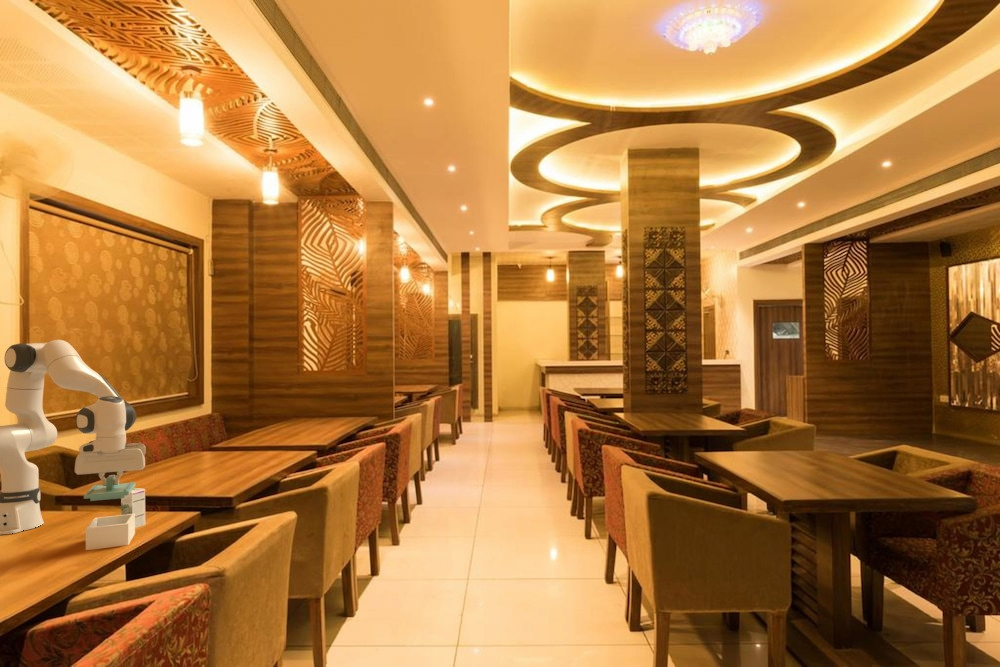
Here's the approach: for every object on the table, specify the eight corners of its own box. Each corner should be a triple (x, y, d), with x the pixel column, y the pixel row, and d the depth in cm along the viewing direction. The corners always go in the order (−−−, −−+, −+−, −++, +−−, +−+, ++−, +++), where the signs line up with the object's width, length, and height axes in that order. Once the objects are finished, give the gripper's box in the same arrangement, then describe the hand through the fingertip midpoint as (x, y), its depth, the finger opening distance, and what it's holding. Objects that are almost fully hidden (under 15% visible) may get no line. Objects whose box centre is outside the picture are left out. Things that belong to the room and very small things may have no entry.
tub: (85, 553, 199) (85, 528, 200) (95, 541, 212) (95, 517, 213) (128, 547, 204) (128, 523, 204) (135, 536, 217) (134, 513, 217)
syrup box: (146, 527, 228) (146, 488, 229) (132, 531, 223) (131, 491, 223) (134, 526, 230) (134, 487, 230) (120, 530, 224) (120, 490, 225)
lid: (83, 502, 199) (83, 482, 200) (93, 492, 213) (93, 474, 213) (128, 498, 204) (128, 479, 204) (135, 489, 218) (135, 471, 218)
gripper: (147, 441, 216) (147, 480, 216) (78, 445, 208) (77, 486, 208) (144, 443, 210) (144, 484, 210) (73, 447, 202) (73, 490, 202)
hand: (110, 485), depth 209 cm, fingers closed on lid
